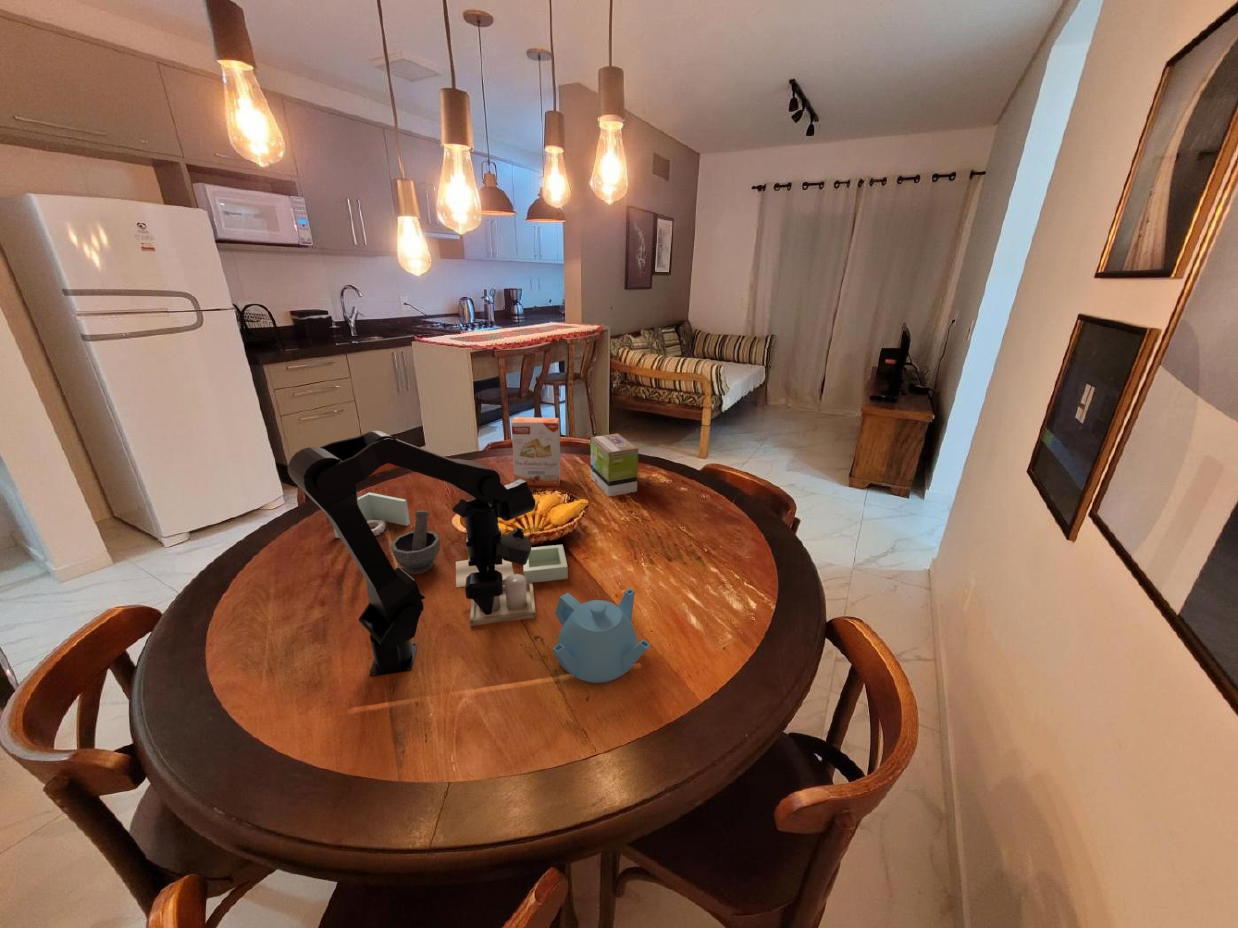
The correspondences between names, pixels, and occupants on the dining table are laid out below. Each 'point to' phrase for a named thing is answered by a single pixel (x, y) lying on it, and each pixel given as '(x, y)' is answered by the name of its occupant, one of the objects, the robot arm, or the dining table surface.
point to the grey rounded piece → (495, 604)
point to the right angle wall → (382, 511)
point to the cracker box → (536, 450)
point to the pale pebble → (515, 591)
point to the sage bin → (546, 564)
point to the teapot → (597, 638)
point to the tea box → (614, 464)
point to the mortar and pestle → (417, 547)
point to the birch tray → (504, 610)
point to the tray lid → (465, 570)
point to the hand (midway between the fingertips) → (489, 599)
